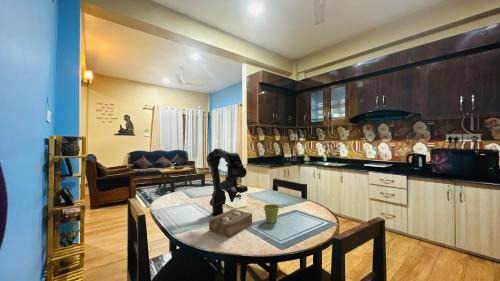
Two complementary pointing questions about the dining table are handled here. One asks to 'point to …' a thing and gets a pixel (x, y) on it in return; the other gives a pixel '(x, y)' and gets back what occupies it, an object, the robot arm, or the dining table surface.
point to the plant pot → (271, 212)
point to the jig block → (230, 223)
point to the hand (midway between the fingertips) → (231, 201)
